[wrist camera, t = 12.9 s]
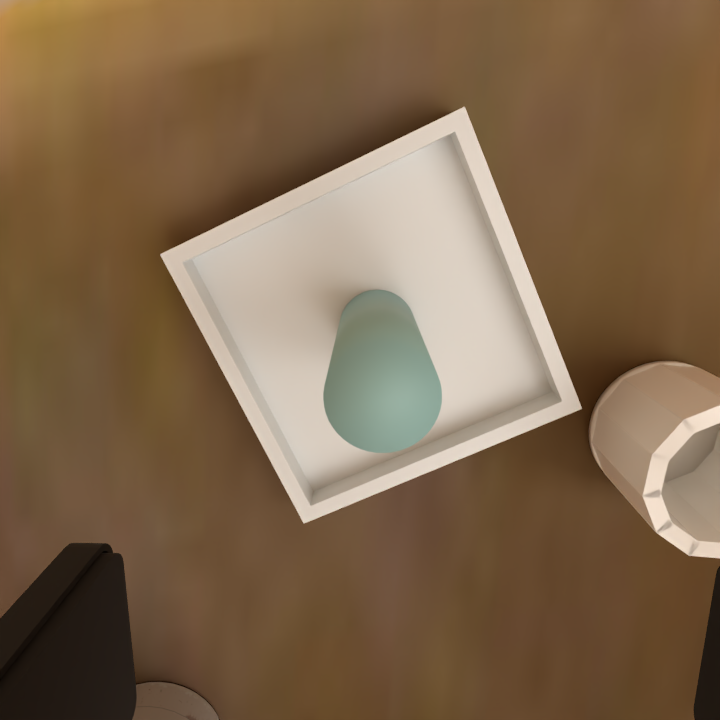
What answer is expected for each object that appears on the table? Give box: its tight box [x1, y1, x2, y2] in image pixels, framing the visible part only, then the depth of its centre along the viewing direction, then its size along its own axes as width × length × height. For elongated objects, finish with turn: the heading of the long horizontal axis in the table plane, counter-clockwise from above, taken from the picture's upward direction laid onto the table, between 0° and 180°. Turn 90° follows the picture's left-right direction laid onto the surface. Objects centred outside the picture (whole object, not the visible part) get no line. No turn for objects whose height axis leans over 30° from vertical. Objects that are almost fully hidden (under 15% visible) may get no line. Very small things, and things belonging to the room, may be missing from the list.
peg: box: [323, 290, 442, 453], centre depth 26 cm, size 4×4×12 cm
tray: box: [160, 107, 582, 523], centre depth 32 cm, size 16×16×2 cm
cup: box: [589, 361, 720, 558], centre depth 31 cm, size 8×8×7 cm
